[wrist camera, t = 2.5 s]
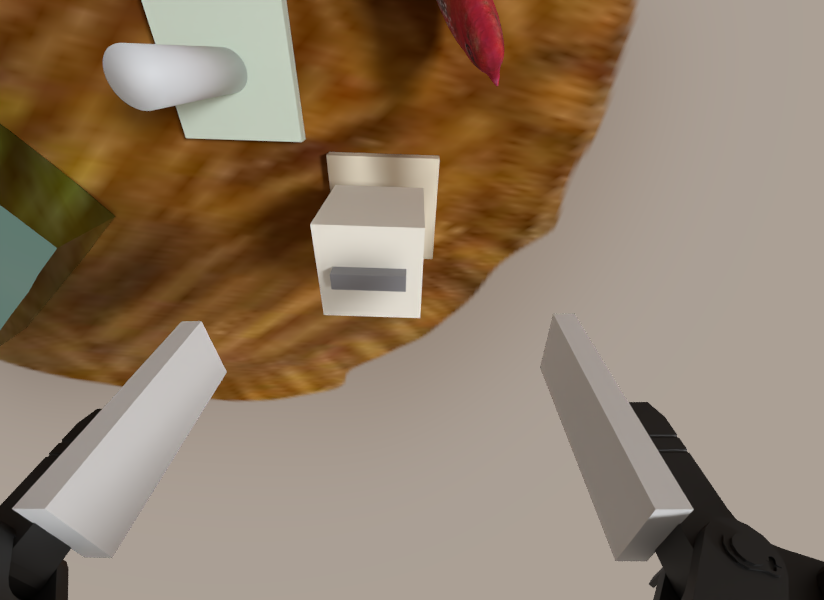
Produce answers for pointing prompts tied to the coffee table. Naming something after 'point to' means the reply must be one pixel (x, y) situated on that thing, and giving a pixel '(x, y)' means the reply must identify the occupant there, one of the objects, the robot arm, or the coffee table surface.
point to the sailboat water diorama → (39, 231)
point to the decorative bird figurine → (476, 32)
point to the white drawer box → (370, 251)
